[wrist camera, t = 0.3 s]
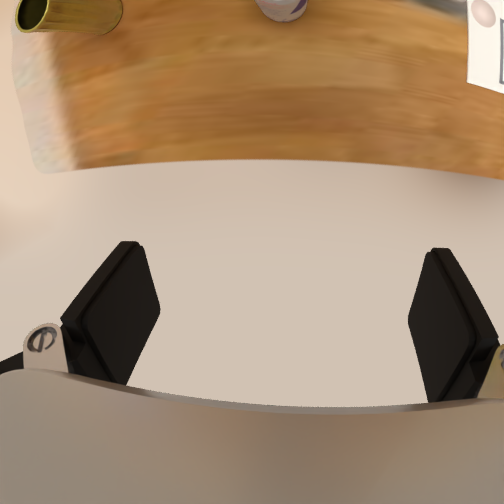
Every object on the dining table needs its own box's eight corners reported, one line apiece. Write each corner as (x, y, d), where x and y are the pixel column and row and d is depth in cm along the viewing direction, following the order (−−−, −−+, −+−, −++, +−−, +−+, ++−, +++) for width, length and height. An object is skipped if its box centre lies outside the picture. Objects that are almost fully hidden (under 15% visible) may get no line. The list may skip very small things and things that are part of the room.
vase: (113, -15, 28) (42, -30, 16) (130, 17, 30) (60, 8, 18) (79, 12, 30) (6, 10, 18) (95, 43, 32) (21, 48, 20)
